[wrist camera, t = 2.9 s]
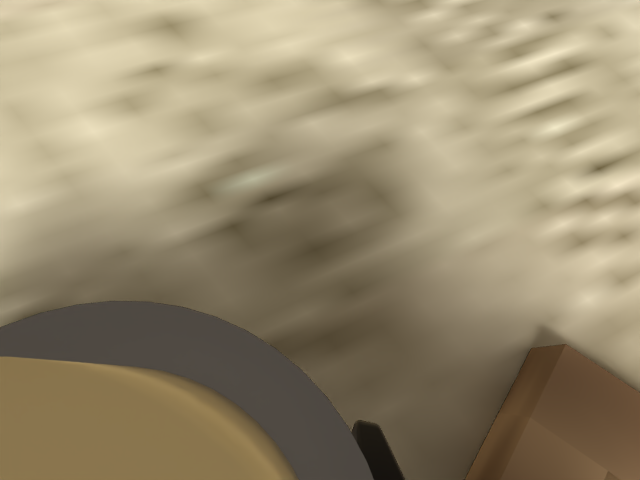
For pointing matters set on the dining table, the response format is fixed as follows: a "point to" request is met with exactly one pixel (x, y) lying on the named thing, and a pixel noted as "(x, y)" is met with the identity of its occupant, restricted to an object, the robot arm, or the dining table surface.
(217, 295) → the dining table surface
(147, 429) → the grey and tan cylinder
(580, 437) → the brown square frame
